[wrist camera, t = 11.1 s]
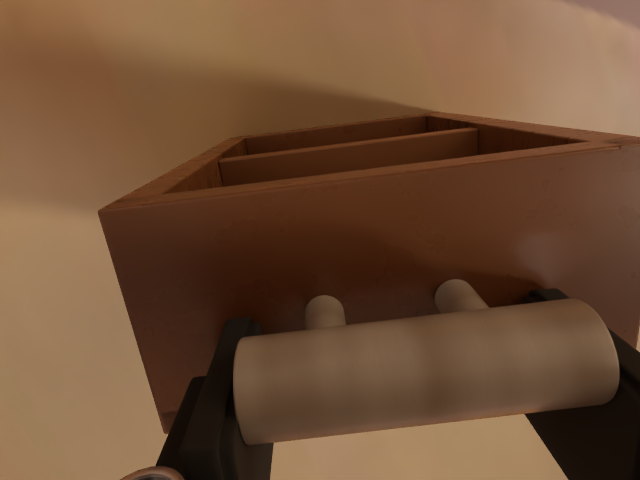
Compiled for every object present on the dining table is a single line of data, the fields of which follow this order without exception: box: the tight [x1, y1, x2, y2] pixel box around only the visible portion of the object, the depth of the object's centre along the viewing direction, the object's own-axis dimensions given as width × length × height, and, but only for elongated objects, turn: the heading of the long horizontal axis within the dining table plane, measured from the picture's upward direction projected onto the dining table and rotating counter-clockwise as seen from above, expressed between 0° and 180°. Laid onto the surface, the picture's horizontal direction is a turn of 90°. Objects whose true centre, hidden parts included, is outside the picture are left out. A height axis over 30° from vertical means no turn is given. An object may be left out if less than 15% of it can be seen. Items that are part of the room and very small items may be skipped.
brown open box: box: [98, 112, 640, 445], centre depth 16 cm, size 6×12×19 cm, turn 97°
